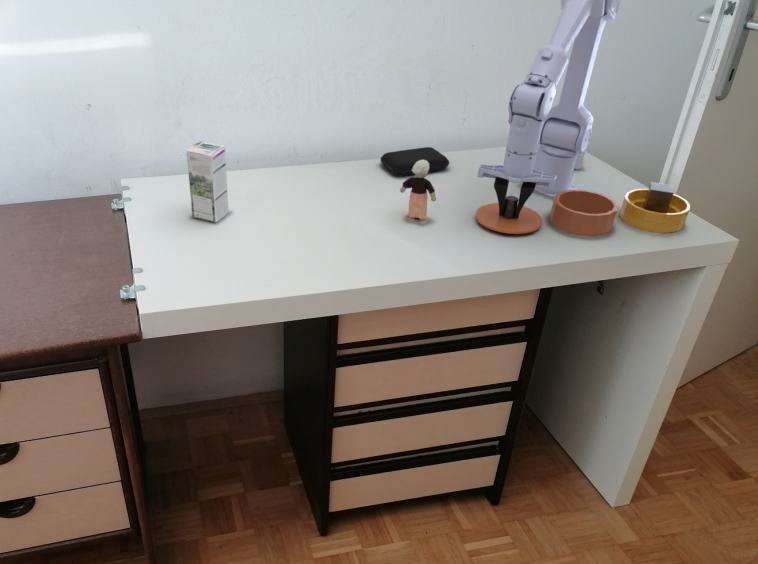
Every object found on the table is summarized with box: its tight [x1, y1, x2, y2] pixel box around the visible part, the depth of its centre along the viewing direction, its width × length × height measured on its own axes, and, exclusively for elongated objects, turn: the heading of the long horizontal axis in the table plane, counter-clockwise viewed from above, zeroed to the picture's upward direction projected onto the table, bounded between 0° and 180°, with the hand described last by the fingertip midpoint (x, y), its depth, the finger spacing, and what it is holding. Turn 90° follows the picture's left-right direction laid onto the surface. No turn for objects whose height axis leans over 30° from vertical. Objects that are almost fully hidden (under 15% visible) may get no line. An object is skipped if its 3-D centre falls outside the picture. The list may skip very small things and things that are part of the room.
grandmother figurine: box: [399, 160, 437, 222], centre depth 145 cm, size 8×4×13 cm, turn 71°
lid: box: [475, 195, 543, 235], centre depth 145 cm, size 13×13×5 cm
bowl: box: [619, 188, 691, 234], centre depth 148 cm, size 12×12×4 cm
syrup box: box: [186, 141, 230, 223], centre depth 145 cm, size 6×6×14 cm
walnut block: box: [643, 181, 674, 213], centre depth 147 cm, size 4×4×7 cm
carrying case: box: [379, 146, 450, 177], centre depth 171 cm, size 11×3×15 cm
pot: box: [549, 189, 619, 237], centre depth 146 cm, size 12×12×5 cm
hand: (508, 215), depth 146 cm, fingers closed on lid, 2 cm apart
